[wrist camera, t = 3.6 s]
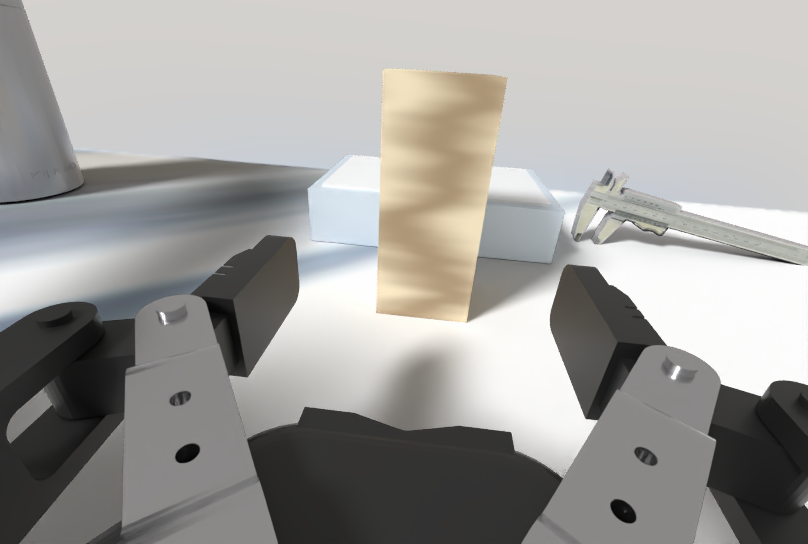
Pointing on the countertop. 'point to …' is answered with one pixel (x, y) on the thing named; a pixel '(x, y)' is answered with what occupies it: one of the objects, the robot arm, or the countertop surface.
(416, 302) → the maple block
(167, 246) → the countertop surface
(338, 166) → the white chamfered block
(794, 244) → the caliper
